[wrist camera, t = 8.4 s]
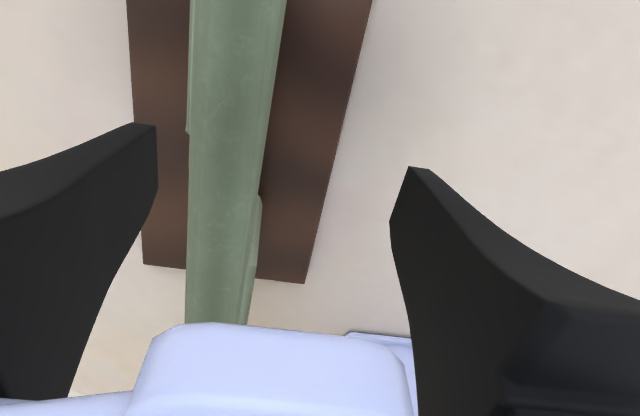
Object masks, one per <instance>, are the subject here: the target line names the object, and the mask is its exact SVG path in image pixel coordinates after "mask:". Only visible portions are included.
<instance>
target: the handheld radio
mask: <svg viewBox="0 0 640 416" xmlns="http://www.w3.org/2000/svg"><path fill="white" fill-rule="evenodd" d="M286 2H287V0H190V22H189V54H188V87H187V120H186V129H185V131H186V132H187V133H188V134H189V135H190V141H189V189H188V223H187V257H186V291H185V324H186V323H202V322H220V323H229V324H239V325H246V324H247V321H248V315H249V309H250V303H251V297H252V291H253V285H254V279H255V273H256V267H257V257H258V247H259V236H260V225H261V215H262V202H261V198H260V196H259V195H258V189H259V182H260V175H261V169H262V162H263V155H264V149H265V142H266V136H267V129H268V122H269V116H270V109H271V102H272V96H273V89H274V82H275V76H276V69H277V62H278V56H279V49H280V42H281V36H282V29H283V22H284V16H285V9H286Z"/></svg>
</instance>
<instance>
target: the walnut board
mask: <svg viewBox="0 0 640 416" xmlns="http://www.w3.org/2000/svg"><path fill="white" fill-rule="evenodd" d="M126 4H127V20H128V35H129V51H130V66H131V82H132V97H133V113H134V122H135V123H141V124H148V125H154V126H156V132H157V160H158V187H159V188H158V191H157V194H156V197H155V199H154V202H153V205H152V208H151V210H150V213H149V215H148V217H147V219H146V221H145V223H144V225H143V227H142V228H141V237H142V252H143V264H146V265H154V266H162V267H170V268H178V269H186V257H187V223H188V189H189V141H190V135H189V134H188V133H187V132H186V131H185V129H186V120H187V87H188V54H189V22H190V0H126ZM371 4H372V0H287V2H286V9H285V16H284V22H283V29H282V36H281V42H280V49H279V56H278V62H277V69H276V76H275V82H274V89H273V96H272V102H271V109H270V116H269V122H268V129H267V136H266V142H265V149H264V155H263V162H262V169H261V175H260V182H259V189H258V195H259V196H260V198H261V202H262V215H261V225H260V236H259V247H258V257H257V267H256V273H255V278H259V279H267V280H275V281H283V282H291V283H299V284H304V283H305V279H306V275H307V271H308V267H309V263H310V258H311V254H312V250H313V246H314V242H315V238H316V233H317V229H318V225H319V221H320V217H321V213H322V208H323V204H324V200H325V196H326V192H327V187H328V183H329V179H330V175H331V171H332V167H333V162H334V158H335V154H336V150H337V146H338V142H339V137H340V133H341V129H342V125H343V121H344V117H345V112H346V108H347V104H348V100H349V96H350V92H351V87H352V83H353V79H354V75H355V71H356V67H357V62H358V58H359V54H360V50H361V46H362V42H363V37H364V33H365V29H366V25H367V21H368V17H369V12H370V8H371Z"/></svg>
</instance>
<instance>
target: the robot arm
mask: <svg viewBox="0 0 640 416" xmlns="http://www.w3.org/2000/svg"><path fill="white" fill-rule="evenodd" d="M158 188H159V187H158V160H157V132H156V126H154V125H148V124H141V123H135V122H132V123H129V124H126V125H124V126H121V127H119V128H116V129H114V130H112V131H110V132H107V133H105V134H103V135H101V136H98V137H96V138H94V139H92V140H89V141H87V142H85V143H82V144H80V145H78V146H75V147H73V148H70V149H67V150H65V151H62V152H60V153H57V154H55V155H52V156H49V157H47V158H44V159H41V160H38V161H35V162H32V163H29V164H26V165H22V166H19V167H15V168H12V169H8V170H5V171H1V172H0V416H640V300H637V299H635V298H632V297H629V296H627V295H624V294H622V293H619V292H617V291H614V290H611V289H609V288H607V287H604V286H602V285H600V284H598V283H596V282H593V281H591V280H589V279H587V278H585V277H582V276H580V275H578V274H576V273H574V272H572V271H570V270H568V269H566V268H564V267H562V266H560V265H559V264H557V263H555V262H553V261H551V260H549V259H548V258H546V257H544V256H542V255H540V254H539V253H537V252H535V251H534V250H532V249H530V248H529V247H527V246H526V245H524V244H523V243H521V242H519V241H518V240H516V239H515V238H513V237H512V236H510V235H509V234H507V233H506V232H505V231H503V230H502V229H500V228H499V227H498V226H496V225H495V224H494V223H493V222H491V221H490V220H489V219H487V218H486V217H485V216H484V215H482V214H481V213H480V212H479V211H477V210H476V209H475V208H474V207H473V206H472V205H470V204H469V203H468V202H467V201H466V200H465V199H463V198H462V197H461V196H460V195H459V194H458V193H457V192H455V191H454V190H453V189H452V188H451V187H450V186H449V185H448V184H446V183H445V182H444V181H443V180H442V179H441V178H439V177H438V176H437V175H436V174H435V173H433V172H432V171H430V170H429V169H424V168H417V167H411V166H408V169H407V172H406V175H405V178H404V180H403V183H402V186H401V189H400V192H399V195H398V197H397V200H396V203H395V206H394V209H393V212H392V214H391V217H390V220H389V225H390V238H391V248H392V253H393V257H394V261H395V266H396V270H397V274H398V278H399V282H400V286H401V290H402V294H403V298H404V302H405V306H406V310H407V315H408V320H409V326H410V334H411V339H410V338H401V337H392V336H384V335H375V334H366V333H357V332H350V333H348V334H346V336H340V335H331V334H322V333H312V332H303V331H294V330H285V329H276V328H266V327H257V326H248V325H239V324H229V323H220V322H202V323H186V324H180V325H177V326H175V327H173V328H171V329H169V330H167V331H165V332H163V333H162V334H160V335H158V336H156V337H154V338H153V339H152V341H151V344H150V346H149V349H148V351H147V354H146V356H145V359H144V362H143V365H142V367H141V370H140V373H139V376H138V378H137V381H136V384H135V386H134V389H133V390H132V391H123V392H114V393H105V394H96V395H87V396H78V397H69V398H67V397H68V393H69V391H70V388H71V385H72V382H73V379H74V377H75V374H76V371H77V368H78V365H79V363H80V360H81V357H82V354H83V351H84V349H85V346H86V344H87V341H88V338H89V336H90V333H91V331H92V328H93V325H94V323H95V320H96V318H97V315H98V313H99V310H100V308H101V306H102V303H103V301H104V298H105V296H106V293H107V291H108V289H109V287H110V285H111V283H112V281H113V279H114V277H115V275H116V273H117V271H118V269H119V268H120V266H121V264H122V262H123V260H124V259H125V257H126V255H127V253H128V252H129V250H130V248H131V246H132V245H133V243H134V241H135V239H136V237H137V236H138V234H139V232H140V230H141V228H142V227H143V225H144V223H145V221H146V219H147V217H148V215H149V213H150V210H151V208H152V205H153V202H154V199H155V197H156V194H157V191H158Z"/></svg>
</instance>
